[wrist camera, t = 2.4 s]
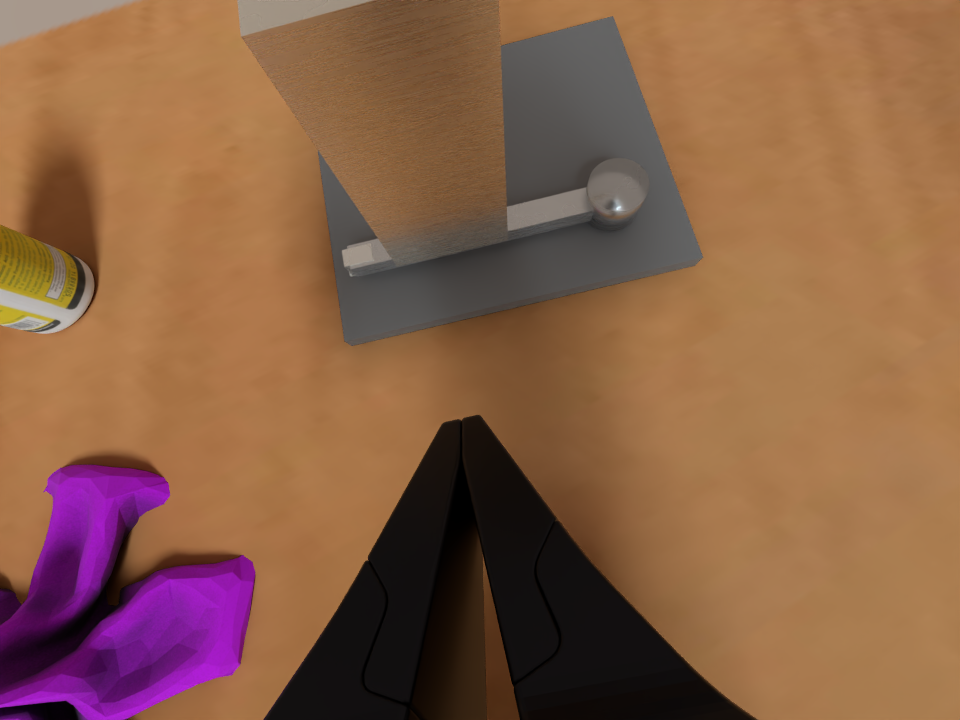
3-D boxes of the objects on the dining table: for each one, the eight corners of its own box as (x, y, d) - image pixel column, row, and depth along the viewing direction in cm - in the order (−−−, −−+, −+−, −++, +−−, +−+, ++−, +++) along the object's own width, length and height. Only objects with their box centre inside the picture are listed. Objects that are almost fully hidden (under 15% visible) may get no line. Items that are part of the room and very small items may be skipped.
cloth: (-137, 666, 22) (-383, 751, 16) (92, 395, 24) (-48, 380, 18) (117, 1007, 18) (-85, 1294, 12) (365, 641, 20) (301, 727, 14)
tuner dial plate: (608, 30, 26) (612, 10, 24) (694, 265, 22) (704, 255, 21) (317, 106, 26) (308, 91, 25) (351, 345, 23) (343, 340, 22)
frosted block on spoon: (628, 177, 22) (791, -207, 9) (644, 224, 21) (846, -119, 8) (349, 246, 23) (125, -20, 10) (356, 293, 22) (126, 78, 9)
